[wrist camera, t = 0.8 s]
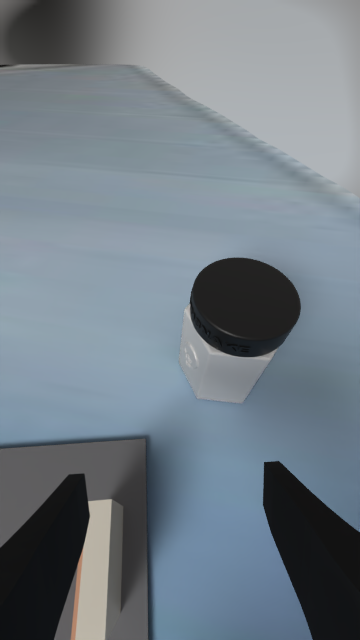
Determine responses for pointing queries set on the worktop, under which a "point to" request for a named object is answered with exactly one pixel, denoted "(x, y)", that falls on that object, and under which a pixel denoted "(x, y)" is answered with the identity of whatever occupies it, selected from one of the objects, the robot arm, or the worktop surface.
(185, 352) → the jar
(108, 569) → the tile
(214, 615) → the worktop surface
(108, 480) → the mat
